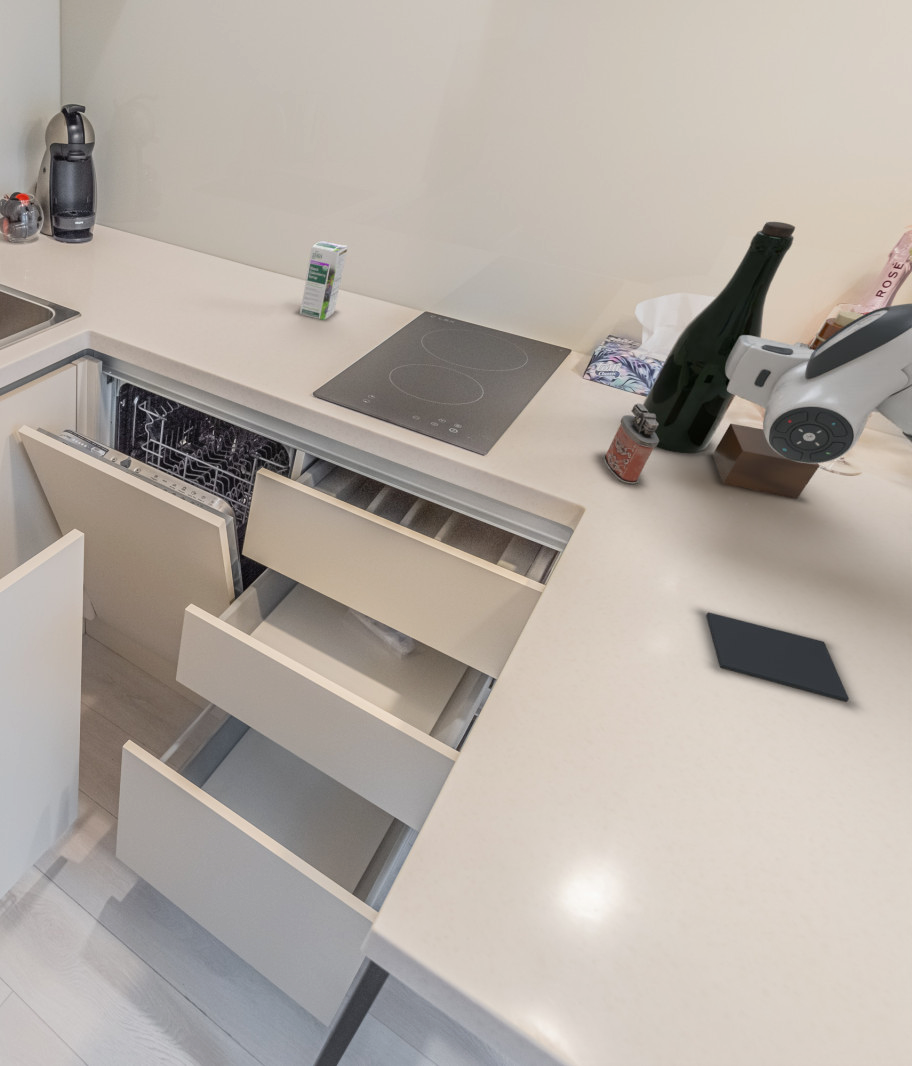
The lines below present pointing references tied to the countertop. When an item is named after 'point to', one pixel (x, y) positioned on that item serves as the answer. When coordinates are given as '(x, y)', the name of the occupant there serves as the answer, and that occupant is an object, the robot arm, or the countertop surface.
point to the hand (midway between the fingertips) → (828, 355)
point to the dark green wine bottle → (714, 348)
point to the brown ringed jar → (833, 327)
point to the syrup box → (323, 279)
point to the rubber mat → (775, 656)
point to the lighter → (632, 445)
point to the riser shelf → (759, 464)
